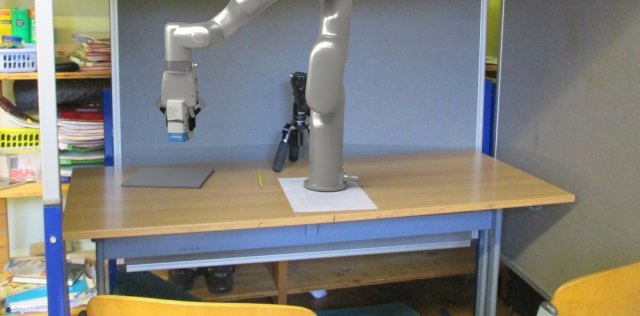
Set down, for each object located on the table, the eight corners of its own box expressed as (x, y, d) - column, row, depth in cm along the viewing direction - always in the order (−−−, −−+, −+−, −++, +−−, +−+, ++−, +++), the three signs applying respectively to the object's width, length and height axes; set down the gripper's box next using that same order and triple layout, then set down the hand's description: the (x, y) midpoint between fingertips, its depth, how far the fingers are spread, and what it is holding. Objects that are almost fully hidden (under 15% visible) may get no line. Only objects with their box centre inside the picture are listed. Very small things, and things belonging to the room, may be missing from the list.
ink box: (183, 142, 184) (182, 101, 182) (167, 141, 185) (165, 100, 183) (195, 136, 193) (194, 97, 190) (179, 135, 194) (178, 96, 191)
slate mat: (213, 170, 201) (213, 168, 201) (199, 188, 182) (199, 186, 182) (142, 169, 202) (142, 167, 202) (121, 186, 182) (121, 184, 182)
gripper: (212, 66, 188) (213, 128, 192) (153, 65, 188) (155, 126, 192) (206, 68, 180) (208, 133, 184) (145, 67, 181) (147, 131, 185)
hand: (181, 129), depth 188 cm, fingers closed on ink box, 5 cm apart
